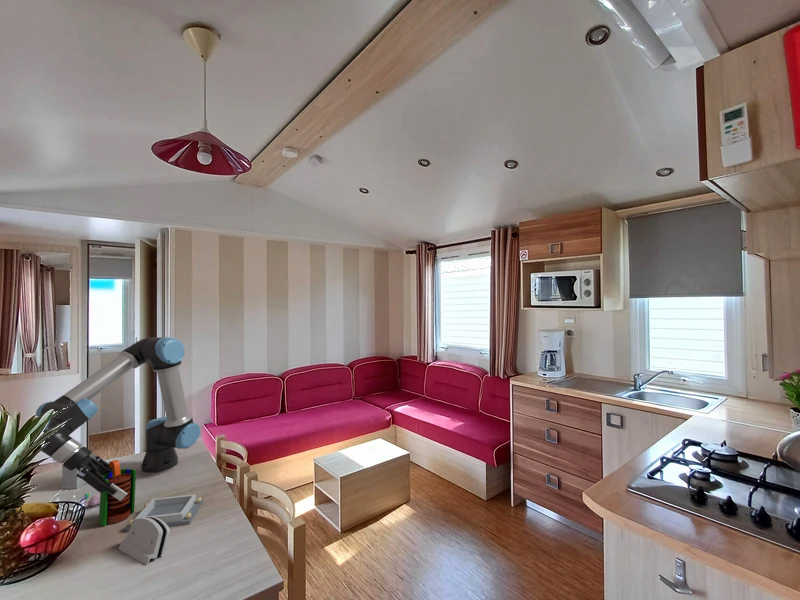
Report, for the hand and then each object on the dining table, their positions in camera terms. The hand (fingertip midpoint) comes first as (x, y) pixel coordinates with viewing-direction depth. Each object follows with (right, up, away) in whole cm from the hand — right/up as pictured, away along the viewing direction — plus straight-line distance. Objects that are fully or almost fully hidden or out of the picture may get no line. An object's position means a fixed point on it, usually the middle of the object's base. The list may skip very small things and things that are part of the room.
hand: (127, 492), depth 132 cm
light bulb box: (-41, -10, +26) cm, 50 cm away
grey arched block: (+20, -8, -19) cm, 29 cm away
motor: (-3, -9, -1) cm, 9 cm away
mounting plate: (+15, -8, 0) cm, 17 cm away
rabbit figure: (-19, -9, +7) cm, 22 cm away
